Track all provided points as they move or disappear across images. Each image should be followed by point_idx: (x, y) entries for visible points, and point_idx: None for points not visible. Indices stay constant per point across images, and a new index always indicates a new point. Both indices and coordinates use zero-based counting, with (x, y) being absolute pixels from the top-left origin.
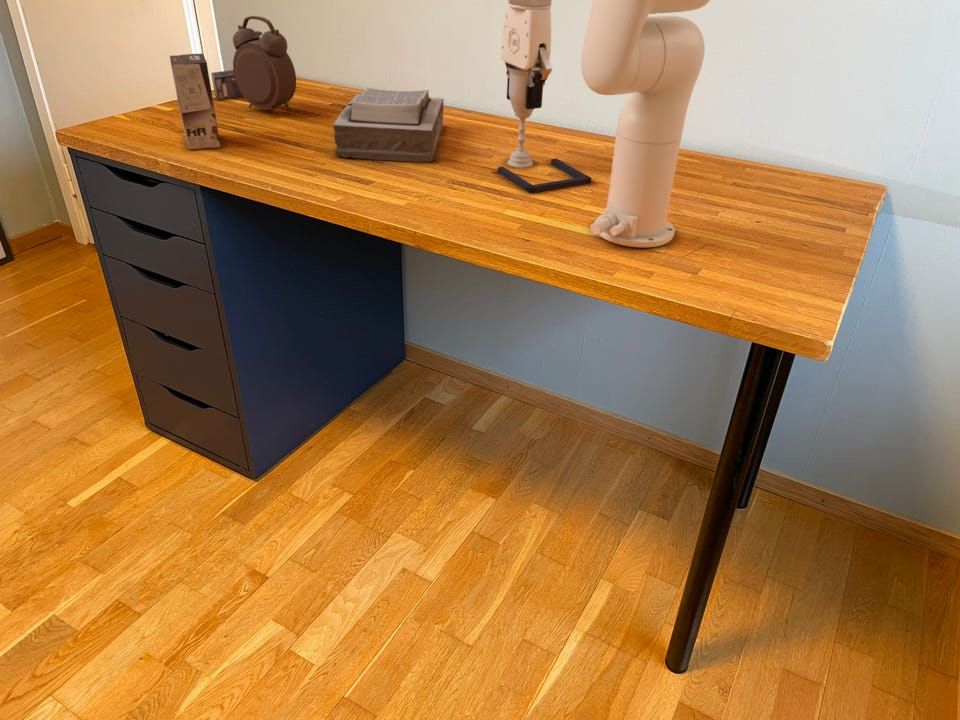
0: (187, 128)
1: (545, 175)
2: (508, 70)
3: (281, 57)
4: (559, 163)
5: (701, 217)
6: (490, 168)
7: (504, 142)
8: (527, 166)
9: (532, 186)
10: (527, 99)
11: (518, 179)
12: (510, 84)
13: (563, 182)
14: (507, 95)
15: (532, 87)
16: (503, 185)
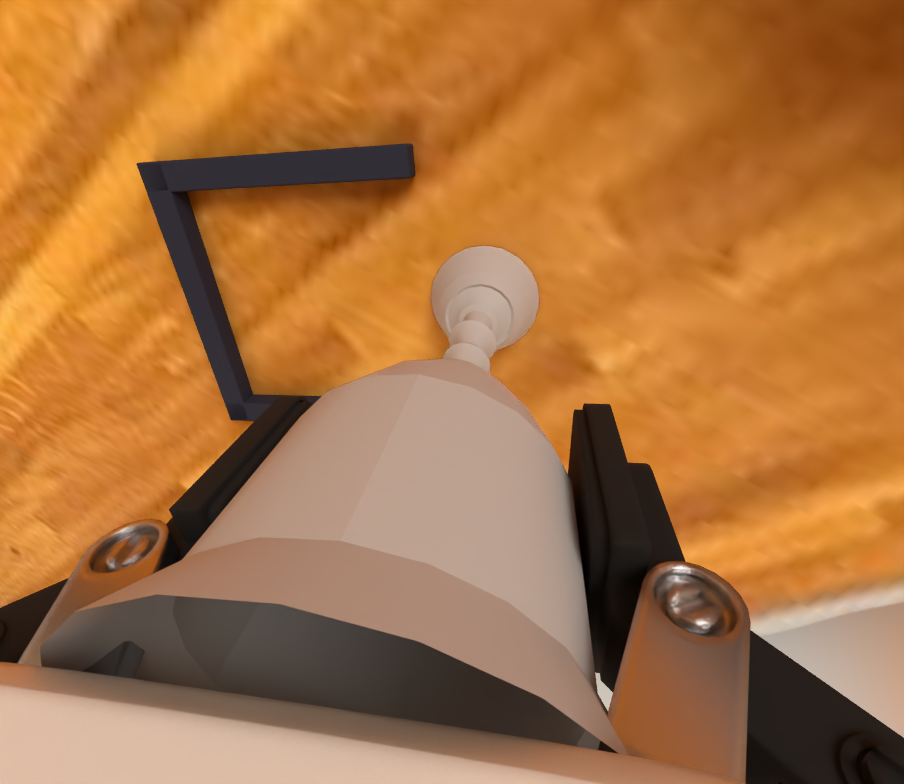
0: None
1: (332, 322)
2: (693, 645)
3: None
4: None
5: (20, 490)
6: (474, 135)
7: (764, 376)
8: (432, 307)
9: (153, 182)
10: (247, 434)
11: (235, 163)
12: (395, 437)
13: (194, 319)
14: (599, 417)
15: (177, 536)
16: (250, 89)
